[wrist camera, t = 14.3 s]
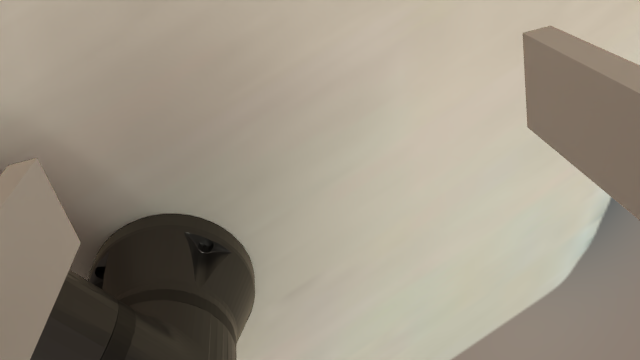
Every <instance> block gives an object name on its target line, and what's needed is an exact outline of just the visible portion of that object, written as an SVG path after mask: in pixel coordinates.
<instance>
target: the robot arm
mask: <svg viewBox="0 0 640 360" xmlns="http://www.w3.org/2000/svg"><path fill="white" fill-rule="evenodd" d="M523 49H524V69H525V88H526V108H527V127H528V128H529V129H530V130H532V131H533V132H534V133H535V134H536V135H538V136H539V137H540V138H541V139H542V140H544V141H545V142H546V143H547V144H548V145H550V146H551V147H552V148H553V149H554V150H556V151H557V152H558V153H559V154H560V155H562V156H563V157H564V158H565V159H566V160H568V161H569V162H570V163H571V164H573V165H574V166H575V167H576V168H577V169H579V170H580V171H581V172H582V173H583V174H585V175H586V176H587V177H588V178H589V179H591V180H592V181H593V182H594V183H595V184H597V185H598V186H599V187H600V188H601V189H603V190H604V191H605V192H606V193H607V194H609V195H610V196H611V197H612V198H613V199H615V200H616V201H617V202H618V203H619V204H621V205H622V206H623V207H624V208H625V209H627V210H628V211H629V212H630V213H632V214H633V215H634V216H635V217H636V218H638V219H639V220H640V65H637V64H635V63H633V62H631V61H628V60H626V59H624V58H622V57H620V56H617V55H615V54H613V53H611V52H608V51H606V50H604V49H602V48H599V47H597V46H595V45H593V44H590V43H588V42H586V41H584V40H582V39H579V38H577V37H575V36H573V35H570V34H568V33H566V32H564V31H561V30H559V29H557V28H555V27H552V26H548V27H544V28H540V29H536V30H532V31H528V32H524V33H523ZM80 244H81V242H80V240H79V238H78V236H77V234H76V232H75V231H74V229H73V227H72V225H71V223H70V221H69V219H68V217H67V215H66V213H65V211H64V209H63V207H62V205H61V203H60V201H59V199H58V197H57V195H56V194H55V192H54V190H53V188H52V186H51V184H50V182H49V180H48V178H47V176H46V174H45V172H44V170H43V168H42V166H41V164H40V162H39V160H38V159H37V158H35V159H31V160H27V161H23V162H20V163H16V164H12V165H8V167H7V168H6V169H5V170H4V172H3V173H2V174H1V175H0V360H236V344H237V341H238V339H239V337H240V335H241V333H242V331H243V329H244V326H245V324H246V322H247V320H248V318H249V316H250V314H251V311H252V308H253V304H254V298H255V279H254V270H253V266H252V262H251V260H250V258H249V256H248V254H247V252H246V250H245V249H244V248H243V246H242V245H241V244H240V243H239V241H238V240H237V239H236V238H235V237H233V236H232V235H231V234H230V233H229V232H227V231H226V230H224V229H223V228H221V227H219V226H217V225H216V224H213V223H211V222H209V221H206V220H203V219H200V218H196V217H192V216H186V215H173V214H171V215H157V216H152V217H147V218H144V219H140V220H138V221H135V222H133V223H130V224H128V225H127V226H125V227H123V228H121V229H120V230H118V231H117V232H116V233H114V234H113V235H112V236H111V237H110V238H109V239H108V240H107V241H106V242H105V243H104V245H103V246H102V247H101V249H100V251H99V252H98V254H97V256H96V259H95V261H94V264H93V267H92V269H91V272H90V275H89V279H88V281H87V280H85V279H84V278H82V277H81V276H79V275H77V274H76V273H74V272H72V271H71V270H69V269H70V267H71V265H72V262H73V260H74V258H75V255H76V253H77V251H78V248H79V246H80Z"/></svg>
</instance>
